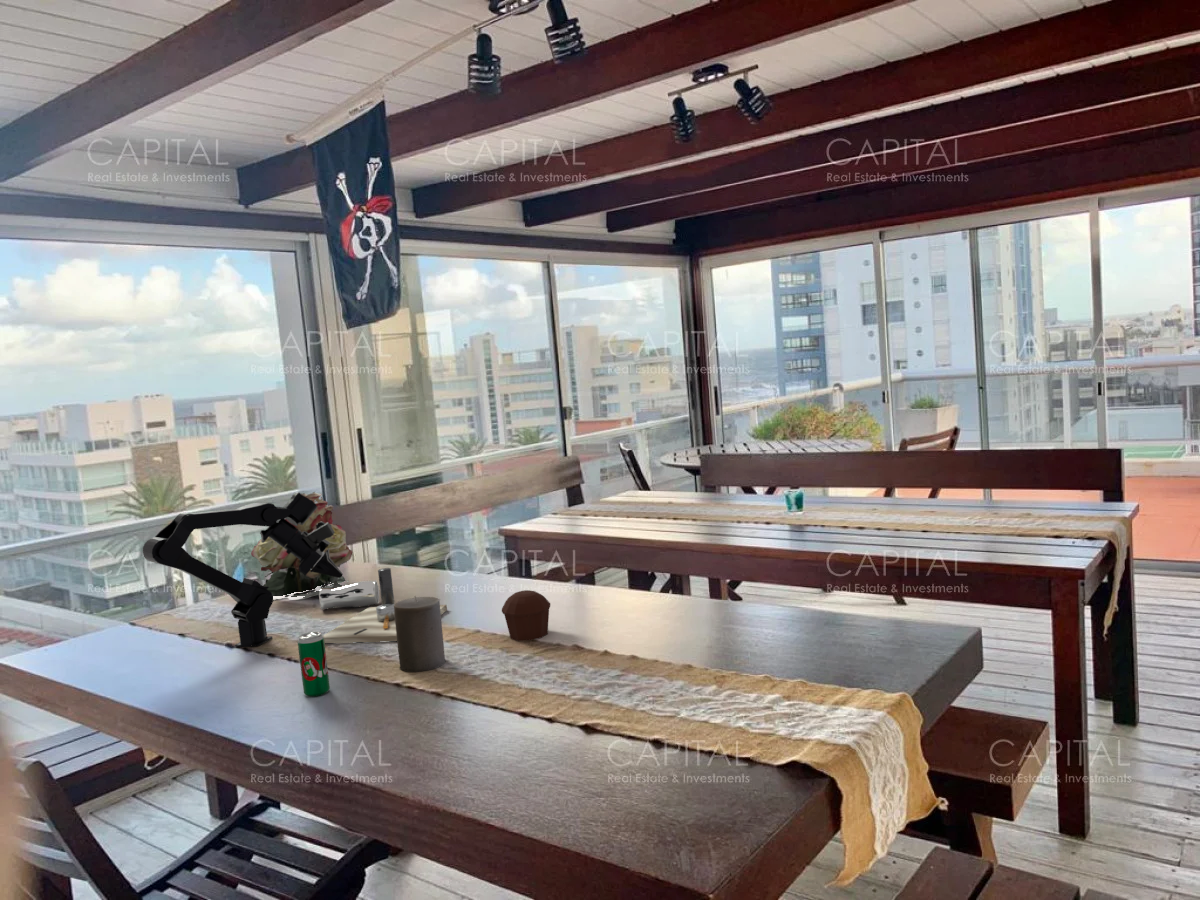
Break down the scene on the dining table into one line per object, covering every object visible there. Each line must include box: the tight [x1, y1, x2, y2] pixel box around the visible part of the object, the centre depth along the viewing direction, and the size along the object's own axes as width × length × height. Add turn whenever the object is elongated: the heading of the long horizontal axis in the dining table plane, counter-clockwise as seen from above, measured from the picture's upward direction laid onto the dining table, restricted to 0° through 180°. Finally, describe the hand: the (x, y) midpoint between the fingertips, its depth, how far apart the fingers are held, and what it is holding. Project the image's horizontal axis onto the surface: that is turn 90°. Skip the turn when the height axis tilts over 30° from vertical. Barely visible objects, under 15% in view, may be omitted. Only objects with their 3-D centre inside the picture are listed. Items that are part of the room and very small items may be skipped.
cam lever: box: [375, 567, 396, 629], centre depth 225 cm, size 18×5×11 cm, turn 10°
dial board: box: [322, 604, 448, 644], centre depth 225 cm, size 26×22×2 cm
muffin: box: [501, 589, 551, 642], centre depth 207 cm, size 12×11×10 cm
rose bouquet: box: [250, 491, 353, 600], centre depth 271 cm, size 26×29×30 cm
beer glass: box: [318, 579, 380, 610], centre depth 248 cm, size 7×7×15 cm
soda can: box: [297, 631, 331, 698], centre depth 180 cm, size 5×5×12 cm
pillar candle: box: [394, 595, 446, 673], centre depth 192 cm, size 10×10×15 cm
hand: (341, 576), depth 230 cm, fingers closed
